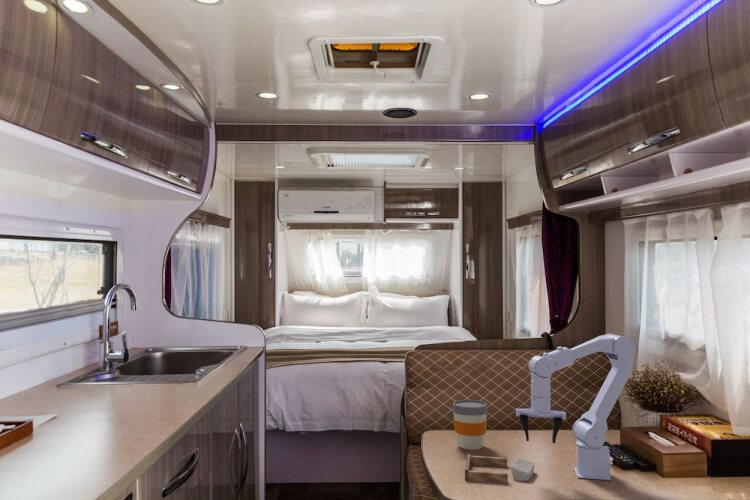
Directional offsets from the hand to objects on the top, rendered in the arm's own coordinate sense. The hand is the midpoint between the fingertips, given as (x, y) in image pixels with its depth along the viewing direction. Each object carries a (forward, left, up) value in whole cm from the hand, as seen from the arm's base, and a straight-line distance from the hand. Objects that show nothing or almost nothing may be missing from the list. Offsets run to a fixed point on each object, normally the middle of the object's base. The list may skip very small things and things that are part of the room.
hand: (540, 441), depth 168 cm
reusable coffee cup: (+22, -27, -11) cm, 36 cm away
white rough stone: (+6, 0, -11) cm, 12 cm away
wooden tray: (+15, 0, -11) cm, 19 cm away
